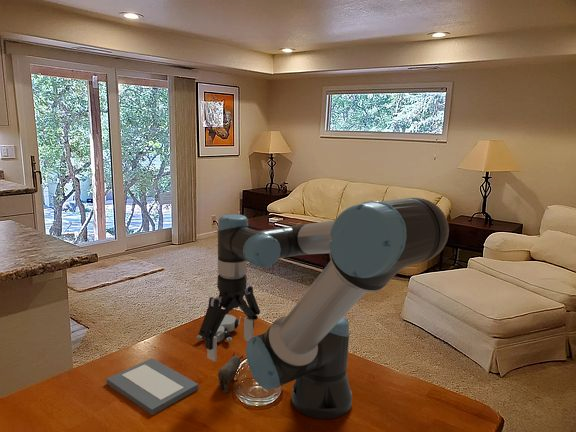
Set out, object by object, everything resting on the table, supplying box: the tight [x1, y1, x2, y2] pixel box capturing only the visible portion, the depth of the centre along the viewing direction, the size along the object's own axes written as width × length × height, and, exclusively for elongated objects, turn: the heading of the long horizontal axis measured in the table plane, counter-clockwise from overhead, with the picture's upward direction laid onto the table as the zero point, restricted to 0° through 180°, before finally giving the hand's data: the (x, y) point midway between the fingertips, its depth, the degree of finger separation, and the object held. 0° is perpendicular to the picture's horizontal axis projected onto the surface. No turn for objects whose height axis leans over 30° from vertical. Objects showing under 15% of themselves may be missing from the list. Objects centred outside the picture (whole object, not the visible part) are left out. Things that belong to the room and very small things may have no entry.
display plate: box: [105, 357, 199, 416], centre depth 114 cm, size 20×14×2 cm
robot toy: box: [196, 314, 242, 343], centre depth 144 cm, size 12×4×15 cm
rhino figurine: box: [217, 352, 244, 394], centre depth 118 cm, size 4×14×6 cm, turn 165°
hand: (230, 349), depth 117 cm, fingers open, 13 cm apart
